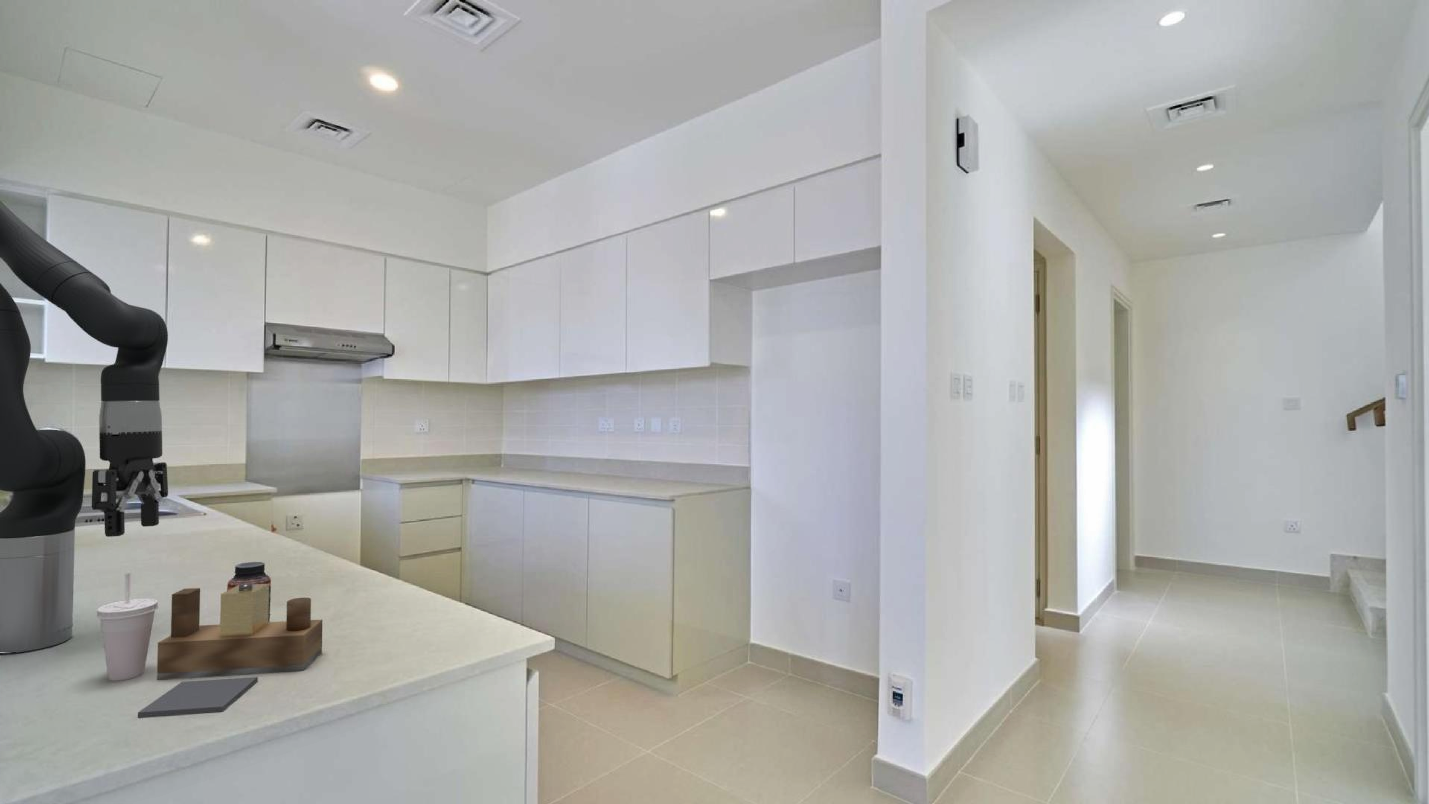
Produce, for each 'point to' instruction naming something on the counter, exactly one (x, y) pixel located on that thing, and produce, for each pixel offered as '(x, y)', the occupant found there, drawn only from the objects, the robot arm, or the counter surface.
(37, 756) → the counter surface
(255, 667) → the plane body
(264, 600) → the brushed brass block
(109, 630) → the smoothie
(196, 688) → the mat
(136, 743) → the counter surface
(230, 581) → the supplement bottle
